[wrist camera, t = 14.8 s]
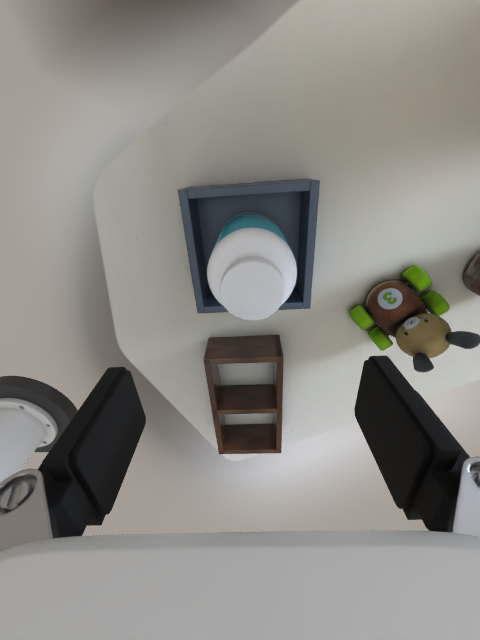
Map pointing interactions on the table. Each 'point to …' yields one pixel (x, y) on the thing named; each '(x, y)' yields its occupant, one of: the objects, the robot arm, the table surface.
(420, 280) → the toy car
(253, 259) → the pill bottle
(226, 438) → the rack
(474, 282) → the candle
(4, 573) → the robot arm
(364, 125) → the table surface
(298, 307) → the blue square tray
